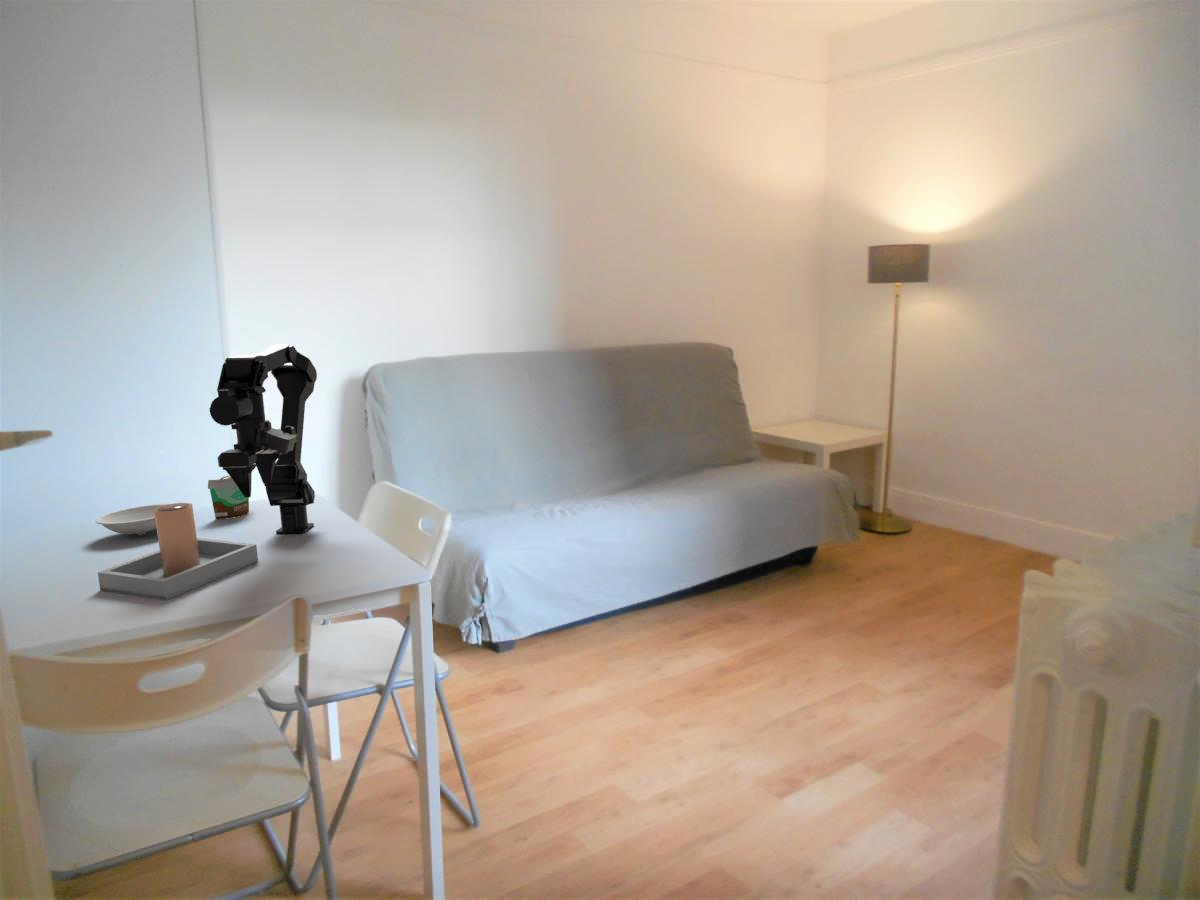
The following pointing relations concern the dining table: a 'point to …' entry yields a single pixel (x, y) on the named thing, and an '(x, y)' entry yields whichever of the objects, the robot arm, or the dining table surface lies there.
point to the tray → (150, 581)
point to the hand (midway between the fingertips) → (258, 491)
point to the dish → (130, 520)
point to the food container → (227, 498)
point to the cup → (177, 537)
